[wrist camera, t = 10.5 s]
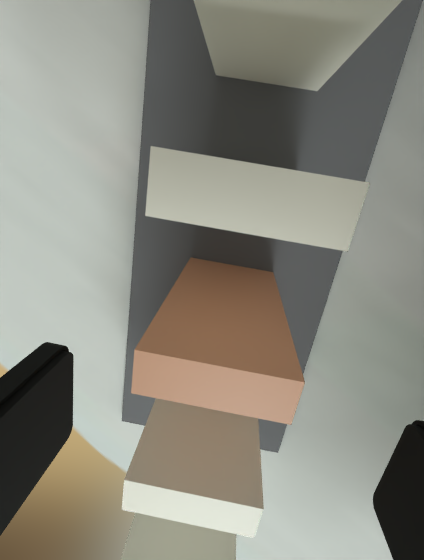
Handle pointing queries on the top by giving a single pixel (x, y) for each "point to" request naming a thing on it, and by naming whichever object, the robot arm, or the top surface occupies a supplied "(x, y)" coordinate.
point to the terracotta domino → (221, 345)
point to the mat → (254, 149)
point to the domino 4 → (176, 541)
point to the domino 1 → (287, 37)
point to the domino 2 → (254, 198)
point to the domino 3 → (197, 469)
